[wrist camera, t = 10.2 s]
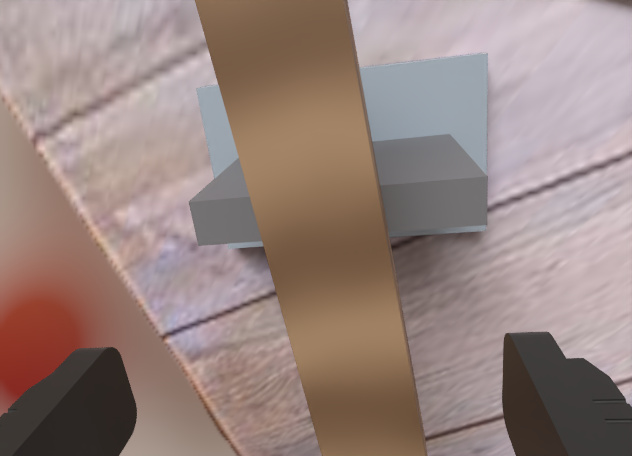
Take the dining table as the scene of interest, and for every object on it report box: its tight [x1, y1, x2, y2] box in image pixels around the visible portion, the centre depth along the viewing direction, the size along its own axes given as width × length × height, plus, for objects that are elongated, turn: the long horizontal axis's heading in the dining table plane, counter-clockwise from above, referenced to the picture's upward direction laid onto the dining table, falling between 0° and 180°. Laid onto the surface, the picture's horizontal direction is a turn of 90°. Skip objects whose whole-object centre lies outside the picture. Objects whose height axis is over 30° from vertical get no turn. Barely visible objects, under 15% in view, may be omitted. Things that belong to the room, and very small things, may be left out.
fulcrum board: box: [189, 53, 488, 249], centre depth 24 cm, size 10×16×10 cm, turn 97°
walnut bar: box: [195, 0, 428, 456], centre depth 17 cm, size 24×4×4 cm, turn 12°
